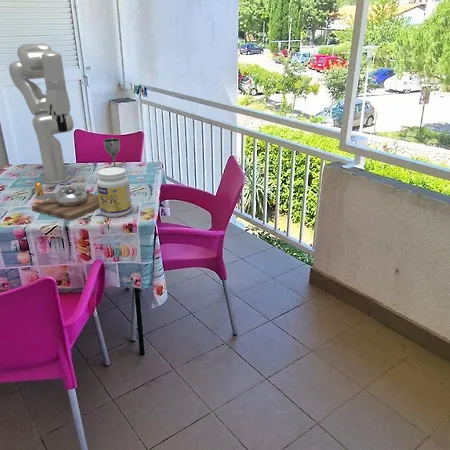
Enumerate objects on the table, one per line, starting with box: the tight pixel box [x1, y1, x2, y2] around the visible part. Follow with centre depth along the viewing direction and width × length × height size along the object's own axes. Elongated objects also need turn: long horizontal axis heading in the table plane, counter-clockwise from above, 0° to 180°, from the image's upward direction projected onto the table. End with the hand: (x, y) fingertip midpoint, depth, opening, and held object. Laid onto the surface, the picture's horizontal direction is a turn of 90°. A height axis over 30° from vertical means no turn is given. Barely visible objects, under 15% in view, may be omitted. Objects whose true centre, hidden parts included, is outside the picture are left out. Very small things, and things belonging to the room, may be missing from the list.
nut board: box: [31, 192, 100, 221], centre depth 178 cm, size 22×22×2 cm
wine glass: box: [103, 137, 122, 168], centre depth 224 cm, size 8×8×15 cm
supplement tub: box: [96, 166, 133, 218], centre depth 169 cm, size 12×12×17 cm
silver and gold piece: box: [33, 181, 87, 207], centre depth 175 cm, size 20×12×8 cm, turn 97°
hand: (63, 131), depth 182 cm, fingers closed
